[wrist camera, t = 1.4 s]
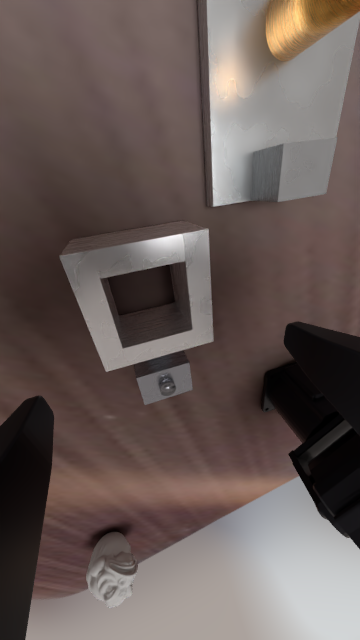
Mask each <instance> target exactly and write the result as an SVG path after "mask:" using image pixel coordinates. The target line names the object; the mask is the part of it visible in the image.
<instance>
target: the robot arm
mask: <svg viewBox="0 0 360 640" xmlns="http://www.w3.org/2000/svg"><path fill="white" fill-rule="evenodd" d="M284 345H285V347H286V348H287V350H288V351H289V352H290V354H291V355H292V356H293V358H294V359H295V361H296V363H293V364H290V365H287V366H284V367H281V368H278V369H275V370H272V371H269V372H267V373H266V375H265V381H264V389H263V397H262V405H261V409H262V411H263V412H268V411H271V410H273V409H276V410H277V411H278V413H279V414H280V415H281V417H282V418H283V419H284V420H285V422H286V423H287V424H288V425H289V427H290V428H291V429H292V430H293V432H294V433H295V434H296V436H297V437H298V438H299V439H300V441H301V442H302V443H303V444H302V445H300V446H299V447H298V448H297V449H295V450H294V451H293V450H292V451H291V452H290V453H289V456H290V458H291V460H292V462H293V465H294V467H295V469H296V471H297V472H298V474H299V476H300V478H301V479H302V481H303V483H304V485H305V486H306V488H307V490H308V492H309V494H310V496H311V497H312V499H313V501H314V503H315V505H316V507H317V510H318V512H319V513H320V515H321V516H322V517H323V518H325V519H327V520H329V521H330V523H331V524H332V525H333V526H334V527H335V528H336V529H337V530H338V531H339V532H340V533H341V534H342V535H344V536H345V537H347V538H349V537H350V538H351V539H352V540H353V542H354V543H355V544H356V545H357V546H358V548H359V549H360V337H357V336H353V335H349V334H345V333H341V332H337V331H333V330H329V329H325V328H322V327H318V326H314V325H310V324H306V323H302V322H293V323H290V324H288V325H287V326H286V330H285V336H284ZM53 429H54V415H53V411H52V410H51V408H50V407H49V405H48V404H47V402H46V401H45V399H44V398H43V397H42V396H35V397H32V398H28V399H26V400H25V401H24V402H23V403H22V404H21V405H20V406H19V407H18V408H17V409H16V410H15V411H14V412H13V413H12V414H11V416H10V417H9V418H8V419H7V420H6V421H5V422H4V423H3V424H2V425H1V426H0V640H25V637H26V631H27V624H28V618H29V612H30V605H31V599H32V592H33V586H34V579H35V573H36V566H37V560H38V553H39V547H40V540H41V534H42V527H43V521H44V514H45V508H46V501H47V495H48V488H49V482H50V475H51V468H52V453H53Z"/></svg>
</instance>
